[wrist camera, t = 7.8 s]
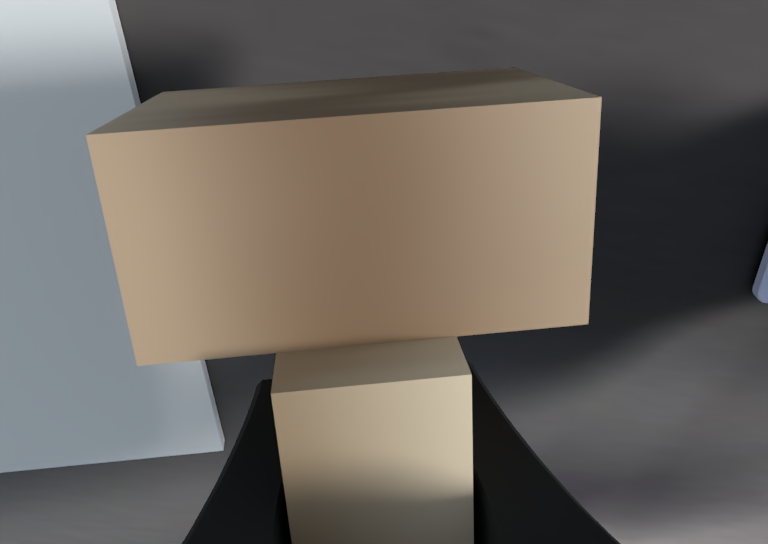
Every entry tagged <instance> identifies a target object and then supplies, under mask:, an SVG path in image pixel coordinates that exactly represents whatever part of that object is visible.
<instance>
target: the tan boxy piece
mask: <svg viewBox="0 0 768 544" xmlns="http://www.w3.org/2000/svg"><path fill="white" fill-rule="evenodd" d="M601 102H602V97H600V96H597V95H594V94H591V93H588V92H585V91H582V90H579V89H576V88H573V87H570V86H567V85H564V84H562V83H559V82H556V81H553V80H550V79H547V78H544V77H541V76H538V75H535V74H532V73H529V72H526V71H523V70H520V69H517V68H514V67H511V68H496V69H482V70H468V71H454V72H439V73H425V74H411V75H397V76H382V77H368V78H354V79H340V80H325V81H311V82H297V83H283V84H268V85H254V86H240V87H226V88H211V89H197V90H183V91H169V92H161V93H160V94H158V95H156V96H154V97H152V98H151V99H149V100H147V101H145V102H144V103H142V104H140V105H138V106H136V107H135V108H133V109H131V110H129V111H128V112H126V113H124V114H122V115H120V116H119V117H117V118H115V119H113V120H111V121H110V122H108V123H106V124H104V125H103V126H101V127H99V128H97V129H95V130H94V131H92V132H90V133H88V134H86V138H87V143H88V147H89V152H90V156H91V161H92V165H93V170H94V174H95V179H96V183H97V188H98V192H99V197H100V201H101V206H102V210H103V215H104V219H105V224H106V228H107V233H108V237H109V242H110V246H111V251H112V255H113V260H114V264H115V269H116V273H117V278H118V282H119V287H120V291H121V296H122V300H123V305H124V309H125V314H126V318H127V323H128V327H129V332H130V336H131V341H132V345H133V350H134V354H135V359H136V363H137V366H143V365H153V364H164V363H175V362H186V361H197V360H208V359H218V358H229V357H240V356H251V355H262V354H272V353H276V357H275V365H274V373H273V380H272V388H271V399H272V406H273V413H274V420H275V428H276V435H277V442H278V449H279V456H280V463H281V470H282V477H283V484H284V491H285V499H286V506H287V513H288V520H289V527H290V534H291V541H292V544H474V511H473V430H472V374H471V371H470V369H469V366H468V364H467V361H466V359H465V356H464V354H463V351H462V349H461V346H460V344H459V341H458V339H457V336H467V335H478V334H489V333H499V332H510V331H521V330H532V329H543V328H553V327H564V326H575V325H586V324H588V322H589V305H590V288H591V271H592V254H593V237H594V220H595V204H596V187H597V170H598V153H599V136H600V119H601Z"/></svg>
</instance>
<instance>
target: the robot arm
mask: <svg viewBox="0 0 768 544" xmlns="http://www.w3.org/2000/svg"><path fill="white" fill-rule="evenodd" d="M752 292H753V294H754V295H755V297H756V298H757V299H758V300H759V301H761V302H763V303H768V243H767V246H766V249H765V252H764V255H763V258H762V261H761V264H760V267H759V270H758V273H757V276H756V279H755V282H754V285H753V289H752ZM467 364H468V366H469V369H470V371H471V374H472V430H473V511H474V544H620V543H619V542H618V541H617V540H616V539H615V538H614V537H612V536H611V535H610V534H609V533H608V532H607V531H606V530H605V529H604V528H603V527H602V526H601V525H600V524H599V523H598V522H597V521H596V520H595V519H594V518H593V517H592V516H591V515H590V514H589V513H588V512H587V511H586V510H585V509H584V508H583V507H582V506H581V505H580V504H579V503H578V502H577V501H576V499H575V498H574V497H573V496H572V495H571V494H570V493H569V492H568V491H567V490H566V489H565V487H564V486H563V485H562V484H561V483H560V482H559V481H558V480H557V479H556V477H555V476H554V475H553V474H552V473H551V472H550V471H549V469H548V468H547V467H546V466H545V465H544V464H543V462H542V461H541V460H540V459H539V458H538V456H537V455H536V454H535V453H534V451H533V450H532V449H531V448H530V446H529V445H528V444H527V443H526V441H525V440H524V439H523V437H522V436H521V435H520V434H519V432H518V431H517V430H516V429H515V427H514V426H513V425H512V423H511V422H510V421H509V419H508V418H507V417H506V415H505V414H504V412H503V411H502V410H501V408H500V407H499V405H498V404H497V402H496V401H495V400H494V398H493V397H492V395H491V394H490V392H489V391H488V389H487V388H486V386H485V385H484V383H483V381H482V380H481V378H480V377H479V375H478V373H477V372H476V370H475V368H474V366H473V365H472V364H471V363H469V362H468V361H467ZM272 380H273V379H268V380H262V381H261V382H260V383H259V384H258V385H257V387H256V391H255V394H254V397H253V400H252V403H251V406H250V409H249V411H248V414H247V417H246V419H245V422H244V424H243V426H242V429H241V431H240V434H239V436H238V438H237V441H236V443H235V445H234V447H233V449H232V451H231V453H230V456H229V458H228V460H227V462H226V464H225V466H224V468H223V470H222V472H221V474H220V477H219V479H218V481H217V483H216V484H215V486H214V488H213V490H212V492H211V494H210V496H209V497H208V499H207V501H206V503H205V505H204V506H203V508H202V510H201V512H200V514H199V516H198V517H197V519H196V521H195V523H194V525H193V526H192V528H191V530H190V531H189V533H188V535H187V536H186V538H185V540H184V541H183V543H182V544H292V541H291V534H290V527H289V520H288V513H287V506H286V499H285V491H284V484H283V477H282V470H281V463H280V456H279V449H278V442H277V435H276V428H275V420H274V413H273V406H272V399H271V388H272Z"/></svg>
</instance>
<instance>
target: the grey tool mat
mask: <svg viewBox="0 0 768 544" xmlns="http://www.w3.org/2000/svg"><path fill="white" fill-rule="evenodd" d="M140 104H141V103H140V99H139V95H138V91H137V87H136V83H135V79H134V75H133V71H132V67H131V63H130V59H129V55H128V51H127V47H126V43H125V39H124V35H123V31H122V27H121V23H120V19H119V15H118V11H117V7H116V3H115V0H0V473H3V472H14V471H24V470H34V469H44V468H54V467H64V466H74V465H84V464H94V463H104V462H114V461H124V460H134V459H145V458H155V457H165V456H175V455H185V454H195V453H205V452H215V451H223V449H224V441H225V439H224V435H223V431H222V427H221V423H220V419H219V415H218V411H217V407H216V403H215V399H214V395H213V391H212V387H211V383H210V379H209V375H208V371H207V367H206V363H205V360H197V361H186V362H175V363H164V364H153V365H143V366H137V363H136V359H135V354H134V350H133V345H132V341H131V336H130V332H129V327H128V323H127V318H126V314H125V309H124V305H123V300H122V296H121V291H120V287H119V282H118V278H117V273H116V269H115V264H114V260H113V255H112V251H111V246H110V242H109V237H108V233H107V228H106V224H105V219H104V215H103V210H102V206H101V201H100V197H99V192H98V188H97V183H96V179H95V174H94V170H93V165H92V161H91V156H90V152H89V147H88V143H87V138H86V134H88V133H90V132H92V131H94V130H95V129H97V128H99V127H101V126H103V125H104V124H106V123H108V122H110V121H111V120H113V119H115V118H117V117H119V116H120V115H122V114H124V113H126V112H128V111H129V110H131V109H133V108H135V107H136V106H138V105H140Z"/></svg>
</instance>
